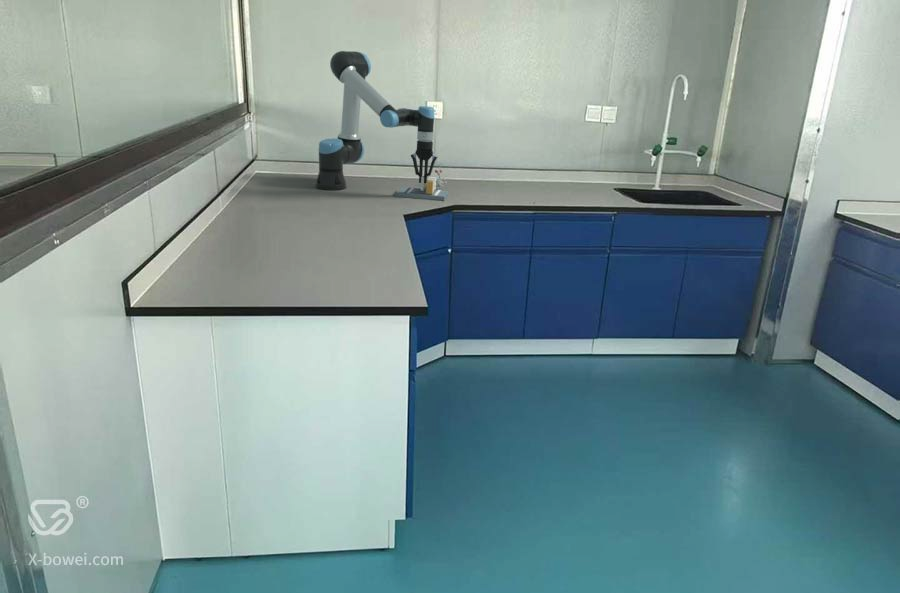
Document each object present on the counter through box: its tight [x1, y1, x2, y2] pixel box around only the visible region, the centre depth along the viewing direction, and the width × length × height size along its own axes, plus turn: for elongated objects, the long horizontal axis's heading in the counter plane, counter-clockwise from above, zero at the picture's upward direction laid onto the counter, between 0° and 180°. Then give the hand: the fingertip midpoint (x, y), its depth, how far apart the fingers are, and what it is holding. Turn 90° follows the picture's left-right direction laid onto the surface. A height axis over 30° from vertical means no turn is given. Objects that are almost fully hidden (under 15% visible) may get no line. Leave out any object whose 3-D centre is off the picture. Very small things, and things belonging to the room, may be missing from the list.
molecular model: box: [426, 166, 447, 188], centre depth 328 cm, size 19×10×10 cm, turn 154°
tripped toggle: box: [425, 180, 434, 194], centre depth 306 cm, size 3×3×6 cm
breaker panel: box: [395, 176, 449, 202], centre depth 311 cm, size 24×14×8 cm, turn 82°
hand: (422, 189), depth 307 cm, fingers closed
